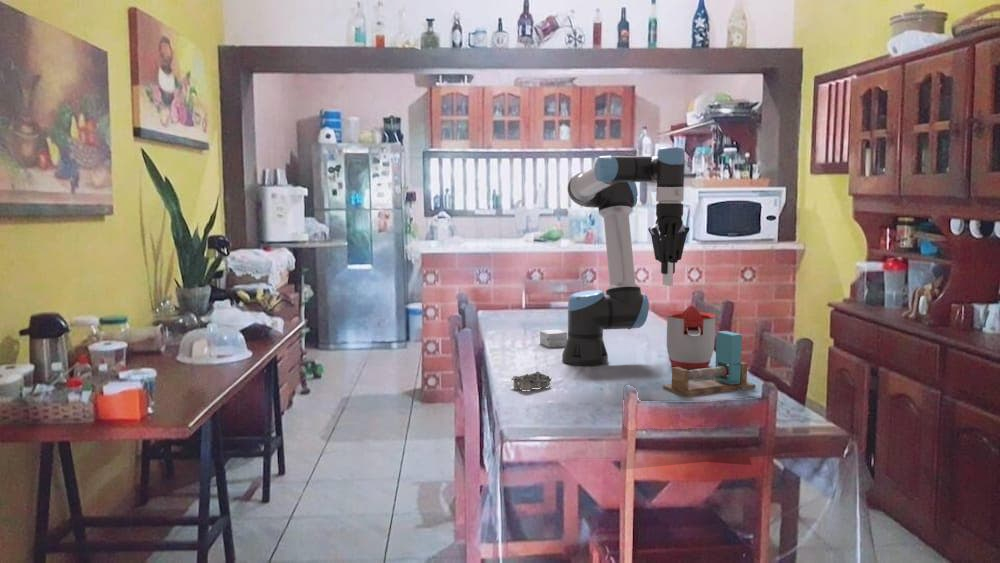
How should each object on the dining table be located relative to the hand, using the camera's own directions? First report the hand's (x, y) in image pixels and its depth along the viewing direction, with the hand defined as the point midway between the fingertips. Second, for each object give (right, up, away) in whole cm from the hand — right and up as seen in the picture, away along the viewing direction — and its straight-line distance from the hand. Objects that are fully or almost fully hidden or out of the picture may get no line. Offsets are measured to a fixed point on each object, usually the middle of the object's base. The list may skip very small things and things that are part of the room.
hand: (667, 285), depth 216 cm
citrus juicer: (+13, -27, +27) cm, 40 cm away
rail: (+12, -30, 0) cm, 32 cm away
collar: (+18, -28, +3) cm, 34 cm away
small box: (-28, -23, +64) cm, 73 cm away
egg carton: (-39, -30, +1) cm, 49 cm away
